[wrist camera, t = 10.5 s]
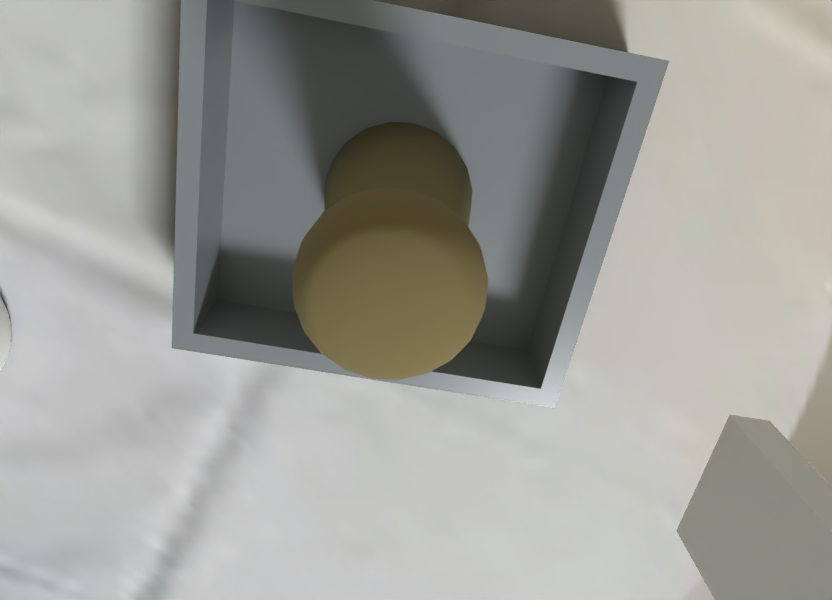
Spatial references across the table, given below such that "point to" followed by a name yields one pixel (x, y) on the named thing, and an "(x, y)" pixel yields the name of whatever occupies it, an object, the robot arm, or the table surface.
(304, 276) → the cork
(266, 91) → the tray
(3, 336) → the milk bottle
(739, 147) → the table surface
